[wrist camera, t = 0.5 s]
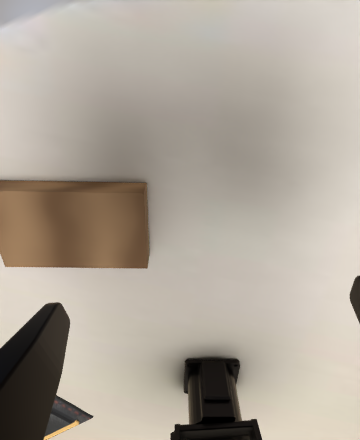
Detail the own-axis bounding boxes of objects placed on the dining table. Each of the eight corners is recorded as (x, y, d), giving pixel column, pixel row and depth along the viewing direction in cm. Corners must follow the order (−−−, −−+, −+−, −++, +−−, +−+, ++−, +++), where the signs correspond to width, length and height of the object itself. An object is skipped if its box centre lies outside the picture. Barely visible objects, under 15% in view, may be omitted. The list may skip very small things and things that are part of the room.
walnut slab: (146, 182, 22) (143, 193, 20) (149, 254, 26) (147, 268, 24) (-7, 180, 22) (-23, 190, 20) (17, 252, 25) (5, 266, 24)
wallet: (1, 377, 33) (94, 428, 39) (9, 362, 35) (98, 413, 41) (-88, 429, 39) (6, 466, 45) (-77, 414, 40) (12, 451, 47)
